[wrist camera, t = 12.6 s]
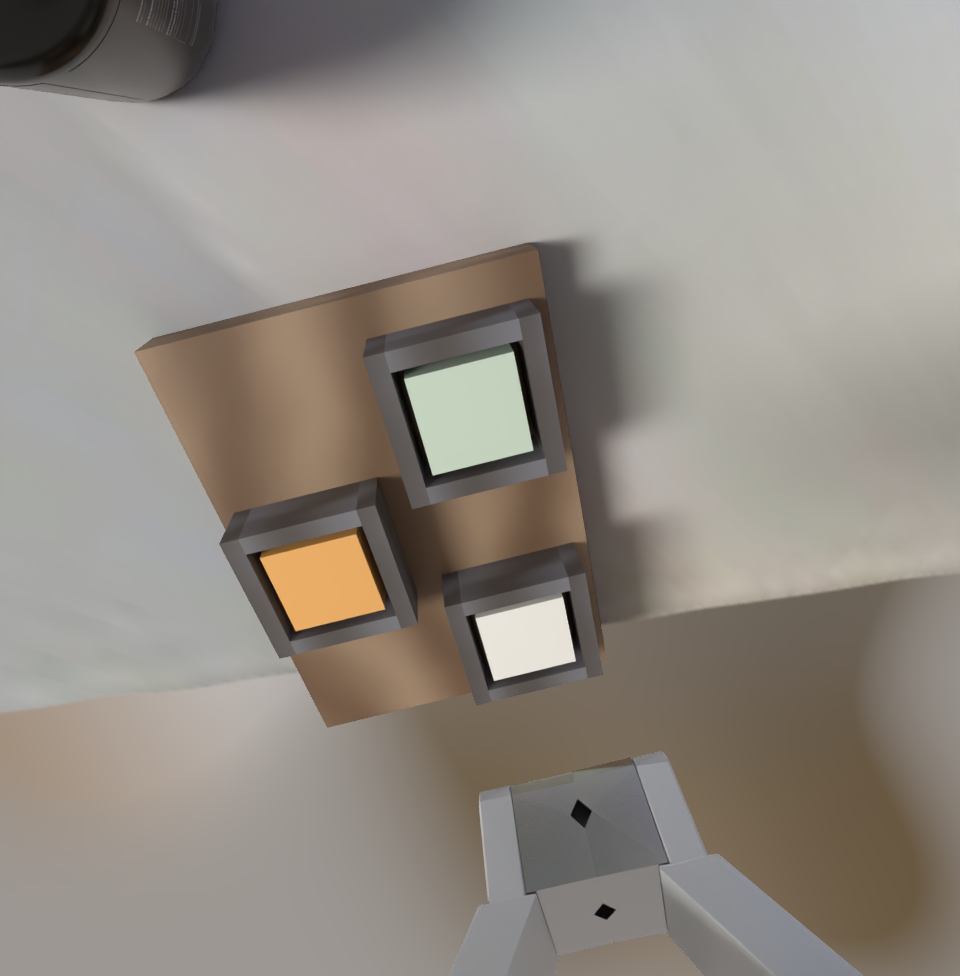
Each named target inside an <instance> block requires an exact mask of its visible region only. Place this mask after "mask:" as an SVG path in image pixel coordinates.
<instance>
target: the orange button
mask: <svg viewBox="0 0 960 976" xmlns="http://www.w3.org/2000/svg"><path fill="white" fill-rule="evenodd" d="M260 560H261V562H262V564H263V566H264V568H265V570H266V572H267V574H268V576H269V578H270V580H271V582H272V584H273V586H274V588H275V590H276V592H277V594H278V596H279V598H280V600H281V602H282V604H283V606H284V608H285V610H286V613H287V615H288V617H289V619H290V621H291V623H292V625H293V627H294V629H295V631H299V630H303V629H307V628H311V627H315V626H319V625H323V624H327V623H332V622H336V621H340V620H344V619H348V618H352V617H356V616H360V615H364V614H368V613H372V612H376V611H380V610H384V609H385V605H386V587H385V585H384V582H383V579H382V577H381V574H380V572H379V569H378V566H377V564H376V561H375V558H374V556H373V553H372V551H371V548H370V545H369V543H368V540H367V537H366V535H365V532H364V530H363V527H362V526H360V527H356V528H352V529H348V530H344V531H340V532H336V533H332V534H328V535H324V536H320V537H316V538H312V539H308V540H304V541H300V542H296V543H292V544H288V545H284V546H280V547H276V548H272V549H268V550H263V551H262V553H261V556H260Z"/></svg>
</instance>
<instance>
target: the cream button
mask: <svg viewBox="0 0 960 976" xmlns="http://www.w3.org/2000/svg"><path fill="white" fill-rule="evenodd" d="M475 619H476V622H477V626H478V629H479V632H480V636H481V639H482V642H483V646H484V649H485V652H486V656H487V659H488V662H489V666H490V669H491V672H492V676H493V679H494V681H496V680H500V679H505V678H509V677H513V676H517V675H521V674H525V673H529V672H533V671H537V670H541V669H546V668H550V667H554V666H558V665H562V664H566V663H570V662H574V661H576V659H575V654H574V649H573V644H572V640H571V635H570V630H569V625H568V620H567V615H566V610H565V605H564V600H563V596H562V593H559V594H555V595H551V596H547V597H542V598H538V599H534V600H530V601H526V602H522V603H518V604H514V605H510V606H506V607H502V608H498V609H494V610H489V611H485V612H481V613H477V614H475Z"/></svg>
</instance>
